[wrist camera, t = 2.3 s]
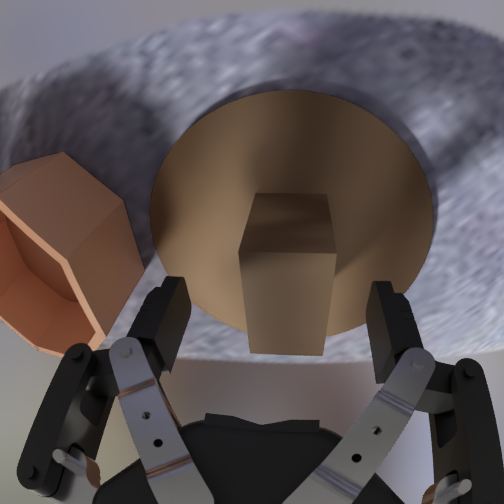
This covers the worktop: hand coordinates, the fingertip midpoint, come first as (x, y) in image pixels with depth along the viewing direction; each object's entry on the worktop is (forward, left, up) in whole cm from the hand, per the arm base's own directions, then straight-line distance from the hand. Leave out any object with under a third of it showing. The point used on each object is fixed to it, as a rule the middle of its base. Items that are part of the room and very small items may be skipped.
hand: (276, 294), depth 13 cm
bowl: (+16, 0, -5) cm, 16 cm away
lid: (0, 0, -5) cm, 5 cm away
